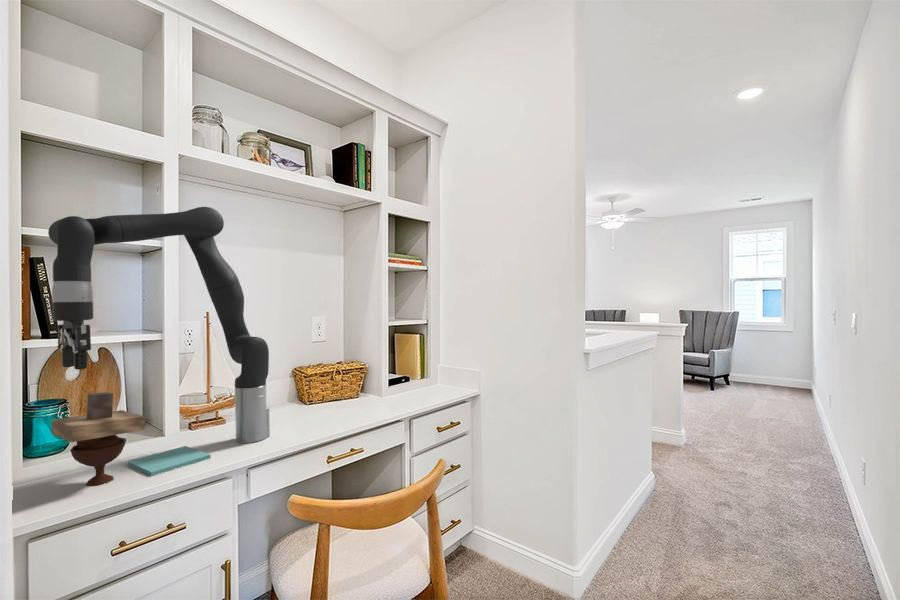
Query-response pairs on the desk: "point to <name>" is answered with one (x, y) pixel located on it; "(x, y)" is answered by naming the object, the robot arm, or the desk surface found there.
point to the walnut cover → (97, 421)
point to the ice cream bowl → (98, 455)
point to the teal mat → (168, 460)
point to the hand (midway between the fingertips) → (74, 367)
